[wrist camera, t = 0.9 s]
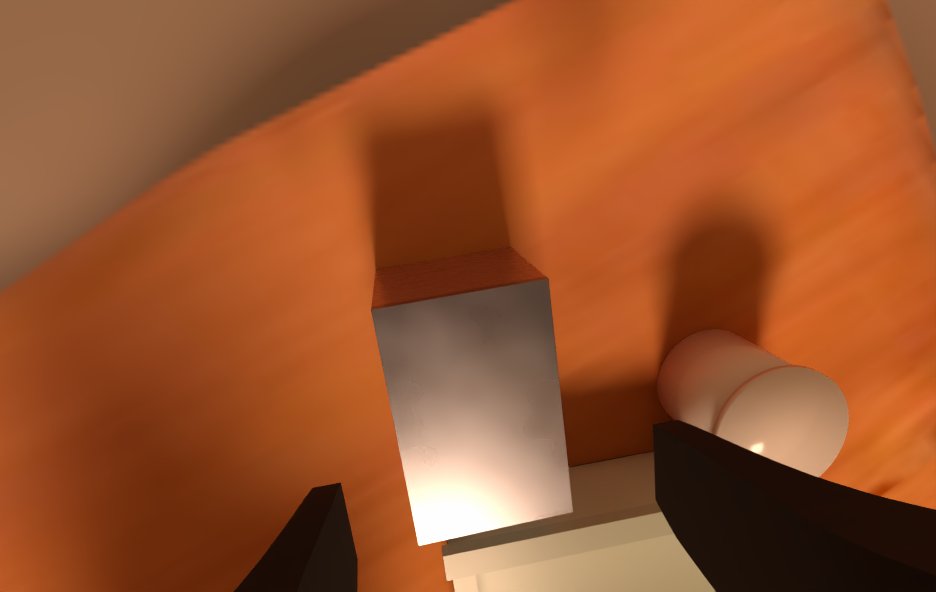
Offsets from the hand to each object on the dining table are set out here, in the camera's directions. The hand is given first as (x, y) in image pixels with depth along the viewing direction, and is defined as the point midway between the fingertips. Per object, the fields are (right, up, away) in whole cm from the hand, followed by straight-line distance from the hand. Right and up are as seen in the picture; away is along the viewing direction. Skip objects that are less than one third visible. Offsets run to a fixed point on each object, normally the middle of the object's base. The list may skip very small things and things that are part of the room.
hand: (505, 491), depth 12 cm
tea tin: (-1, +2, +8) cm, 9 cm away
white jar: (+9, +1, +10) cm, 13 cm away
